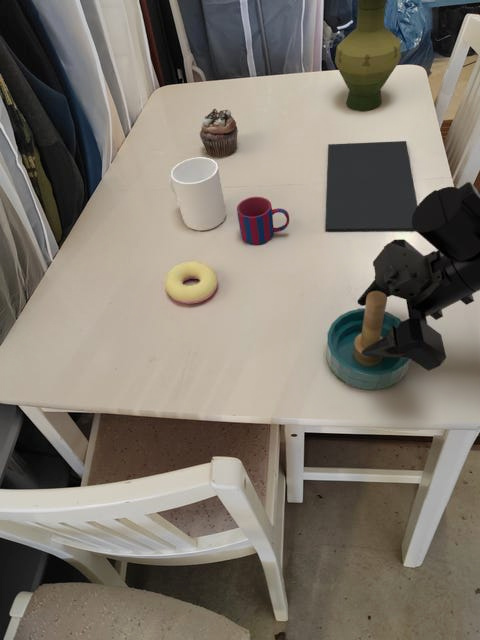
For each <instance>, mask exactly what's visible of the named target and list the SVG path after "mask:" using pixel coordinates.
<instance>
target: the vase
mask: <svg viewBox="0 0 480 640" xmlns="http://www.w3.org/2000/svg"><path fill="white" fill-rule="evenodd" d="M356 1H357V2H356V3H357V15H356V16H357V17H356V28H354V29H353V30H352V31H351V32H350V33H348V35H347V36H345V37H344V38H343V39H342V40H341V41H340V42H339V43H338V44H337V46H336V49H335V50H336V51H335V56H334V57H335V58H334V63H335V66H336V68H337V70H338V71H339V73H340V75H341V78H342V79H343V81H344V83H345V84H346V87H347V89H348V94H347V97H346V101H345V106H346V108H347V109H349V110H352V111H354V112H370V111H373V110H376V109H378V108H380V106H381V105H382V104H383V99H382V92H381V90H382V88H383V87H384V85H385V84H386V83H387V81H388V79H389V78H390V77H391V75H392V73H393V72H394V70H395V69H396V67H397V66H398V64H399V62H401V58H402V42H401V40H400V39H399V37H397V36H396V35H395V34H394V33H393V32H392V31H390V30H389V29H388V28H387V27H386V26H385V16H386V7H387V1H388V0H356Z"/></svg>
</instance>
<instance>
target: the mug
mask: <svg viewBox="0 0 480 640" xmlns="http://www.w3.org/2000/svg"><path fill="white" fill-rule="evenodd" d="M219 170H220V169H219V165H218V163H217V161H215V160H214V159H212V158H211V157H210V158H209V157H204V156H203V157H202V156H199V157H198V156H196V157H190V158H187V159H185V160H182V161H180V162H179V163H177V164H176V165H175V166H174V167H173V168H172V169H171V171H170V176H169V188H170V192H171V194H172V196H173V198H174V199H175V201H176V202H177V203H178V207H179V209H180V213H181V217H182V220H183V222H184V224H185V226H186V227H188V229H191V230H195V231H209V230H213V229H214V228H217V227H218V226H220V225H221V224H222V222H224V221H225V219H226V218H227V217H226V216H227V208H226V204H225V203H226V202H225V197H224V191H223V187H222V181H221V176H220V171H219Z"/></svg>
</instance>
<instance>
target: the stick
mask: <svg viewBox="0 0 480 640" xmlns="http://www.w3.org/2000/svg"><path fill="white" fill-rule="evenodd" d="M387 302H388V297H387V296H386V295H385V294H384V293H383V292H380V291H372V292H370V293H369V294H368V295H367V298H366V305H364V308H365V313H364V320H363V328H362V333H361V334H359V335H358V336H357V337H356V338H355V341H354V348H353V357H354V359H355V361H356V362H357V363H358V364H360V365H362V366H366V367H372V366H376V365H378V364H379V363H380V362H381V360H382V358H383V357H366V356H364V355H362V351H363V350H364V349H365V348H367V347H368V346H370V345H372V344H374V343H375V342H377V341H379V340H381V339H383V338H382V337H381V336H380V335H381V330H382V324H383V319H384V314H385V311H386V308H387V304H388V303H387Z"/></svg>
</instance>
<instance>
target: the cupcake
mask: <svg viewBox="0 0 480 640" xmlns="http://www.w3.org/2000/svg"><path fill="white" fill-rule="evenodd" d="M238 131H239V129H238V126H237V122H236V120H235V119H234V117H233V116H232V111H231V110H230V109H223V110H220V111H219V112H218V110H217V109H216V108H213V109H212V111H211V112H210V113H209V114H207V115H206V116H204V119H203V121H202V124H201V130H200V132H199V137H200V140H201V142H202V144H203V147H204V150H205V152H206V154H207V155H208V156H209V157H210V158H213V159H215V158H220V159H221V158H225V157H229V156H231V155H233V154H234V153H235V152H236V151H237V148H238Z"/></svg>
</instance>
